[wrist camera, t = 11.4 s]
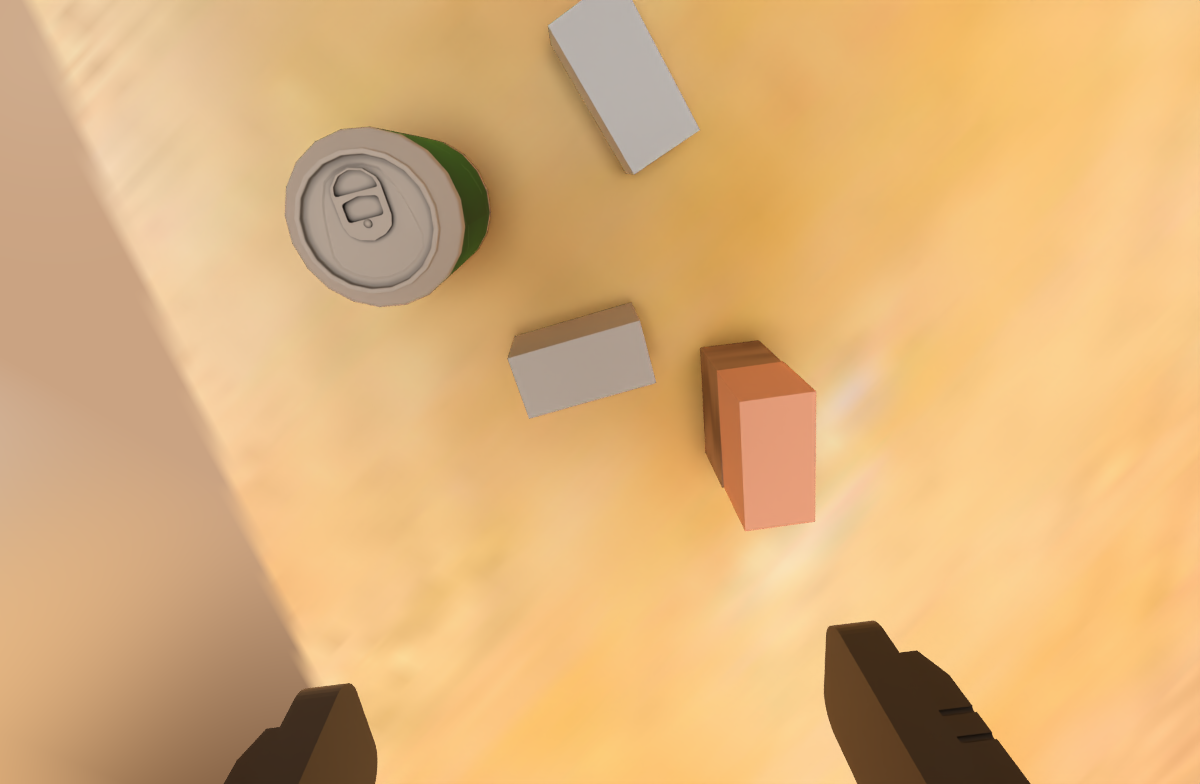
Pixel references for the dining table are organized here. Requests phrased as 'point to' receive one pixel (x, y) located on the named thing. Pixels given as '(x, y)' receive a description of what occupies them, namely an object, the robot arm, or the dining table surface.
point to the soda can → (385, 213)
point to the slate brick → (581, 360)
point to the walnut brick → (710, 363)
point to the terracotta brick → (768, 444)
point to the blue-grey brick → (622, 80)
